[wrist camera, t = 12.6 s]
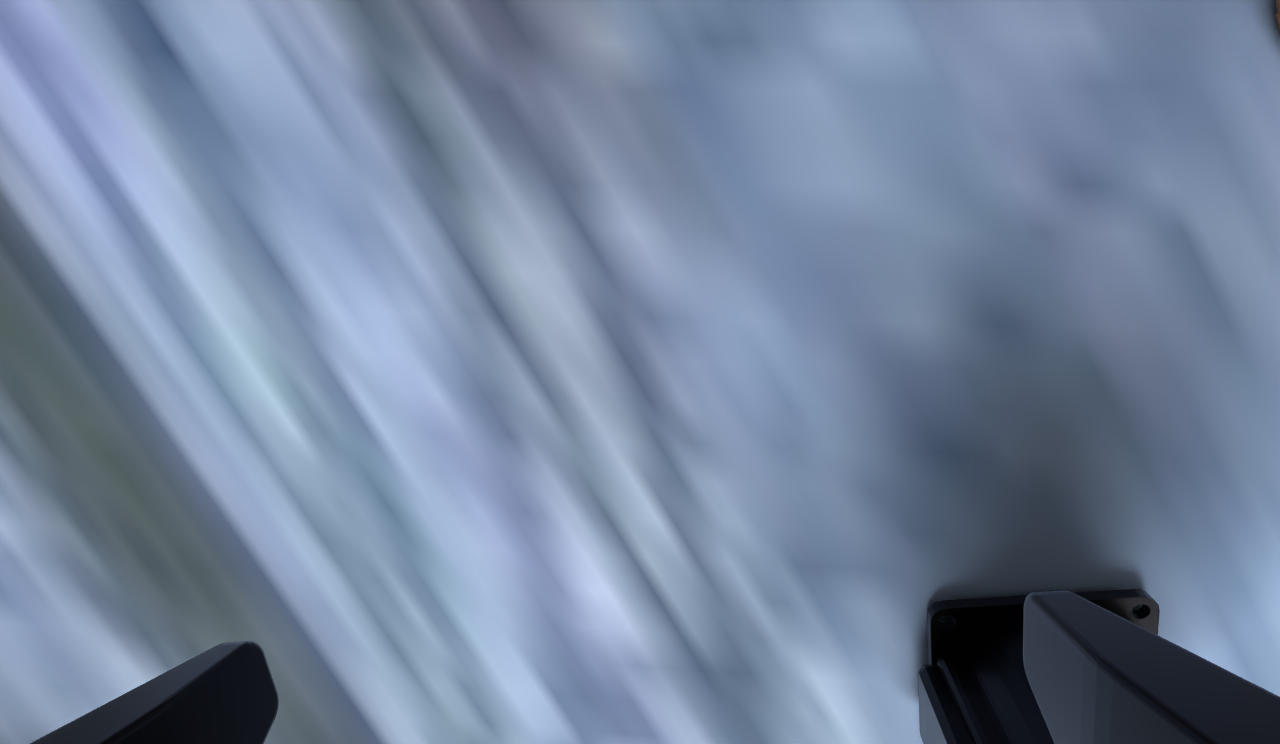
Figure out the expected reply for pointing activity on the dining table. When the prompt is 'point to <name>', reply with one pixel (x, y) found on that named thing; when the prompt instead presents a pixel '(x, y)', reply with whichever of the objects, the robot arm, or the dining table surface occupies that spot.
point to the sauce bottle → (1278, 13)
